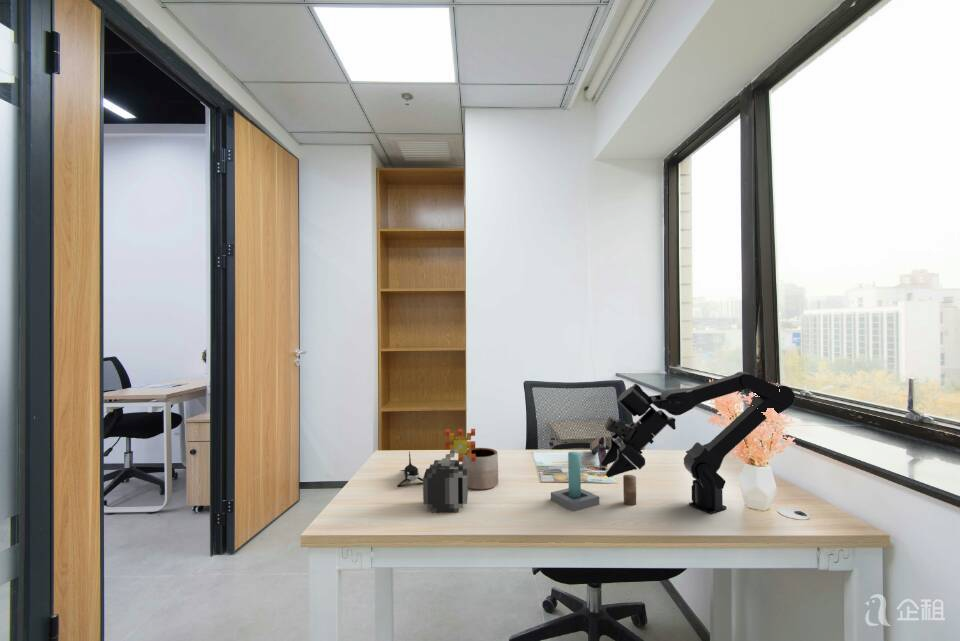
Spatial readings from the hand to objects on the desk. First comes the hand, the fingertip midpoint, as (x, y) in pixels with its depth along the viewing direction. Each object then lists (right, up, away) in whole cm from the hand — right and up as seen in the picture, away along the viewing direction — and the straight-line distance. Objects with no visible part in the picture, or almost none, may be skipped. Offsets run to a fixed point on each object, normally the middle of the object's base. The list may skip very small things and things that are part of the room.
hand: (604, 470), depth 121 cm
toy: (-55, -10, +21) cm, 60 cm away
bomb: (-41, -9, -1) cm, 42 cm away
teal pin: (-8, -9, +1) cm, 12 cm away
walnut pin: (+7, -9, 0) cm, 11 cm away
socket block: (-8, -9, +1) cm, 12 cm away
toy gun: (+8, -10, +38) cm, 40 cm away
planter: (-33, -10, +16) cm, 38 cm away
